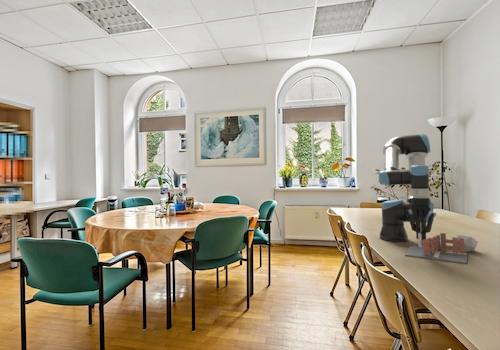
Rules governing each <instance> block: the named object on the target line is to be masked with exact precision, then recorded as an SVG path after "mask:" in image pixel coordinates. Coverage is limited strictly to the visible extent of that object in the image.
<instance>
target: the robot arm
mask: <svg viewBox="0 0 500 350" xmlns="http://www.w3.org/2000/svg"><path fill="white" fill-rule="evenodd" d="M383 146H384V147H383V155H384V162H383V163H384V164H383V170H380V171H379V172H378V181H379V184H380V185H386V186H394V185H395V186H396V185H399V186H400V185H409V197H408V198H407V199H406V202H405V201H404V200H403V199H393V200H386V201H383V202H382V203H381V221H382V223H381V224H382V226H381V229H380V232H379V239H381V240H384V241H390V242H407V241H408V240H409V236H408V234H407V231H406V228H405V223H409V224H410V227H411V231H413V232H415V233H416V234H415V235H416V237H415V238H416V239H417V241H418V244H417V246H419V247H423V239H427V233H431V230H432V226H433V224H434V218H435V217H436V215H437V213H436V212H434V206H435V205H434V202H432V201H431V199H430V198H429V197H430V171H429V165H427V164H426V158H427V157H428V154H429V153H431V143H430V139H429V137H428V135H427V134H419V133H418V134H411V135H410V134H409V135H399V136H396V137H393V138H391V139H389V141H387V142H386V144H385V145H383ZM400 155H405V158H406V159H407V160H408V169H406V170H405V169H403V170H402V169H401V170H400V158H399V157H400Z"/></svg>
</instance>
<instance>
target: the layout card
mask: <svg viewBox="0 0 500 350" xmlns="http://www.w3.org/2000/svg"><path fill="white" fill-rule="evenodd" d="M404 256H405V257H412V258H419V259H426V260H434V261H439V260H440V261H442V262H447V261H448V262H447V263H454V262H455V263H456V264H460V265H461V264H464V265H467V264H468V263H467V262H468V261H467V260H468V252H465V254H461V253H460V251H458V253H453V250H449V249H446V253H444V252H441V248H440V251H438V252H435V251H434V253H429V254H428V255H425V254H424V249H423V247H419V245H417V246H416V245H411V246H410V248H409V249H408V250H407V252H406V253H405V254H404Z"/></svg>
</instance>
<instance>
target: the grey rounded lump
mask: <svg viewBox="0 0 500 350" xmlns="http://www.w3.org/2000/svg"><path fill="white" fill-rule="evenodd" d="M456 238H457V240H459V238H464V248H465V252H467V253H468V252H471V251H472V252H475V251H476V248H477V246H478V245H479V241H477V240H476V239H475V238H473V236H472V235H469V234H458V236H457V237H456ZM457 246H458V247H460V246H459V244H457ZM472 252H471V253H472Z"/></svg>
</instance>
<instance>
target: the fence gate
mask: <svg viewBox="0 0 500 350" xmlns="http://www.w3.org/2000/svg"><path fill="white" fill-rule="evenodd" d="M423 249H424V254H425V255H428V254H429V253H434V251H435V252H438V251H440V249H441V237H440V234H435V236H432V237H427V238H426V239H423Z"/></svg>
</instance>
